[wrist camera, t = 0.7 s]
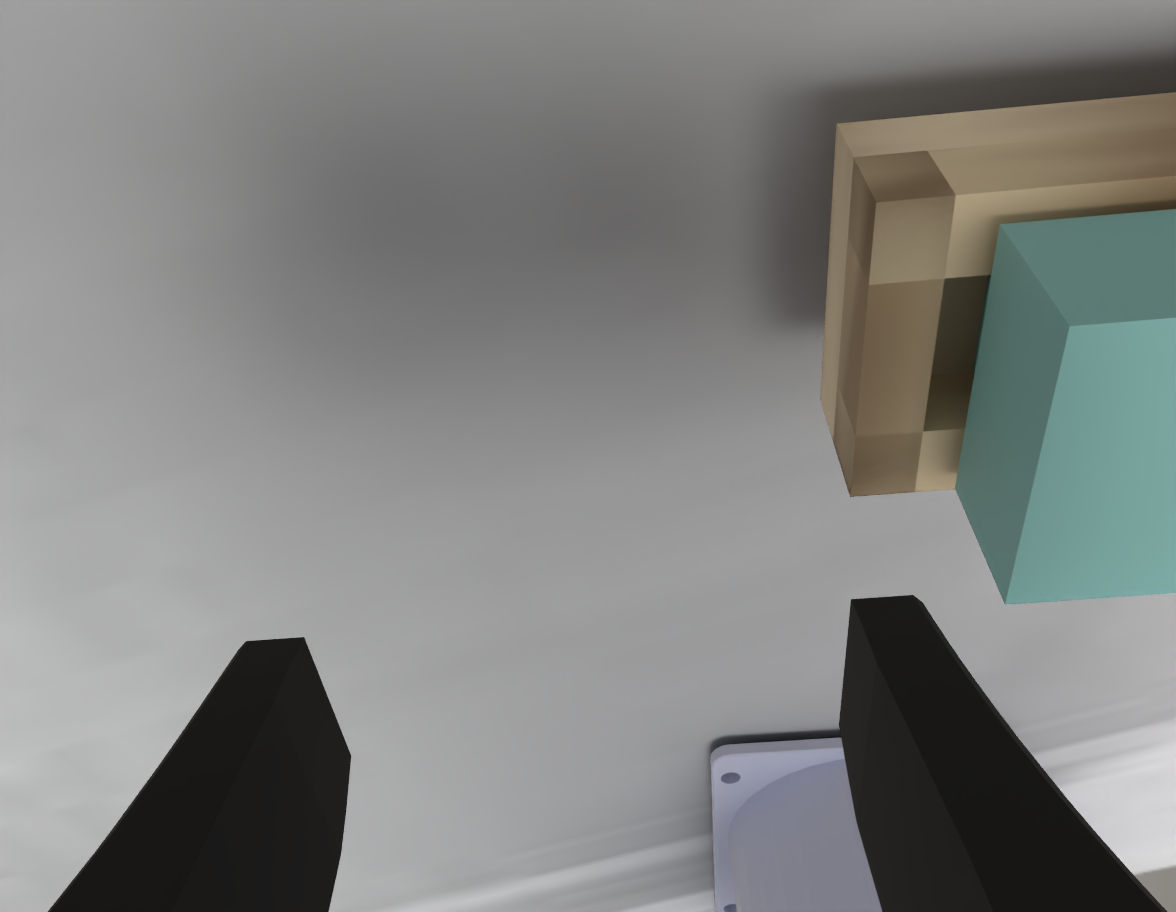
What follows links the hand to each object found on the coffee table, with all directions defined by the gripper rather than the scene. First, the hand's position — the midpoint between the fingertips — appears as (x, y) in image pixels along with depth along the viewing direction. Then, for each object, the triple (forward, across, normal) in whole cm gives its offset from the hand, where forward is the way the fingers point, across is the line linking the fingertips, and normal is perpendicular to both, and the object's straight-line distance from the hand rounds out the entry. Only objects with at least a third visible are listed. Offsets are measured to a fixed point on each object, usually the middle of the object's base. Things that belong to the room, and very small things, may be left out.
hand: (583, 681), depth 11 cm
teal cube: (+6, -7, 0) cm, 10 cm away
